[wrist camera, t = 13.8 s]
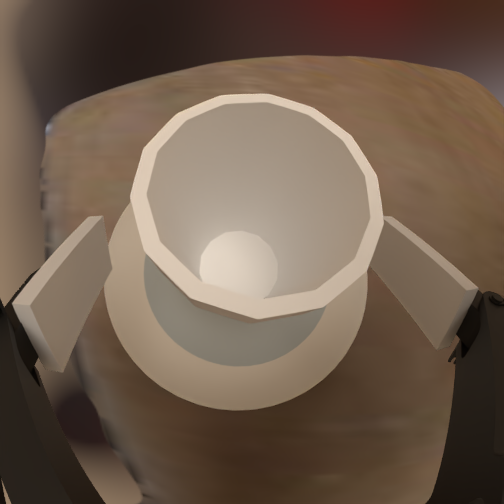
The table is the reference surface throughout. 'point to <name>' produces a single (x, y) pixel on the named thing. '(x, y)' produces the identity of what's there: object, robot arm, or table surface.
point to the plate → (220, 335)
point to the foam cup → (256, 207)
